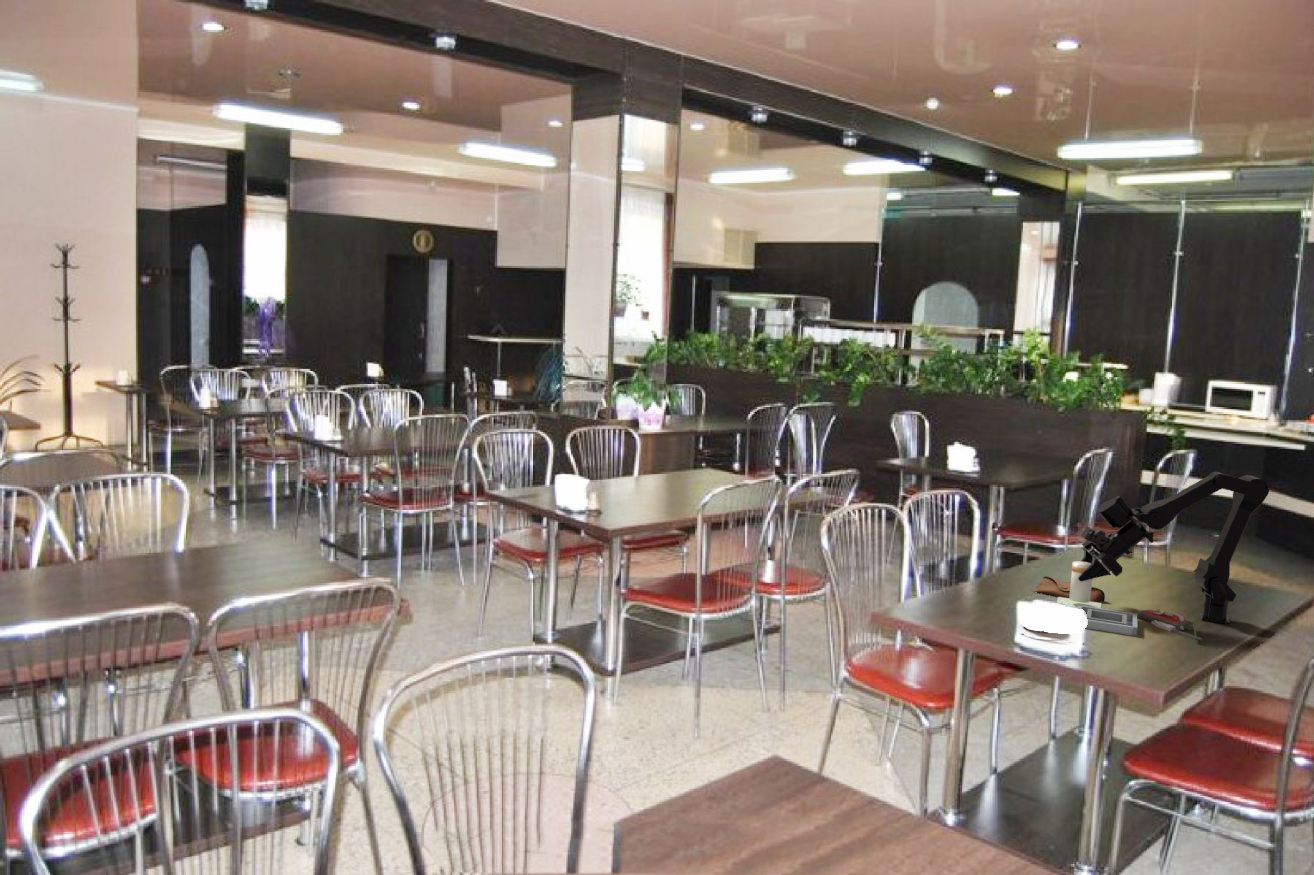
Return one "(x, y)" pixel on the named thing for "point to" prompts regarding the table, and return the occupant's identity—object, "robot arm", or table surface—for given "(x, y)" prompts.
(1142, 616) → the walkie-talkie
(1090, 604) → the mat
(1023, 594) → the table surface
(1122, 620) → the grey square tray
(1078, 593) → the white banded cylinder
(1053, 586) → the sunglasses case
